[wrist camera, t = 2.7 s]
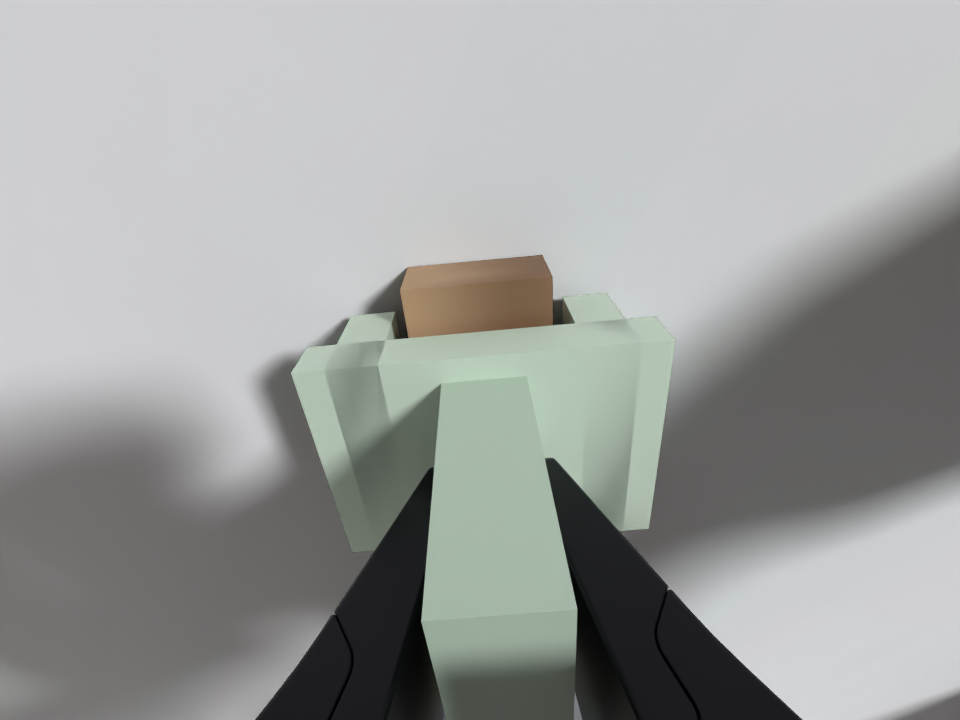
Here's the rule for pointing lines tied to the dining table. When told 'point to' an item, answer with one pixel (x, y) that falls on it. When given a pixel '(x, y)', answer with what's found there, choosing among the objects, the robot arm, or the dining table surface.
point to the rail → (477, 296)
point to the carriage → (493, 477)
